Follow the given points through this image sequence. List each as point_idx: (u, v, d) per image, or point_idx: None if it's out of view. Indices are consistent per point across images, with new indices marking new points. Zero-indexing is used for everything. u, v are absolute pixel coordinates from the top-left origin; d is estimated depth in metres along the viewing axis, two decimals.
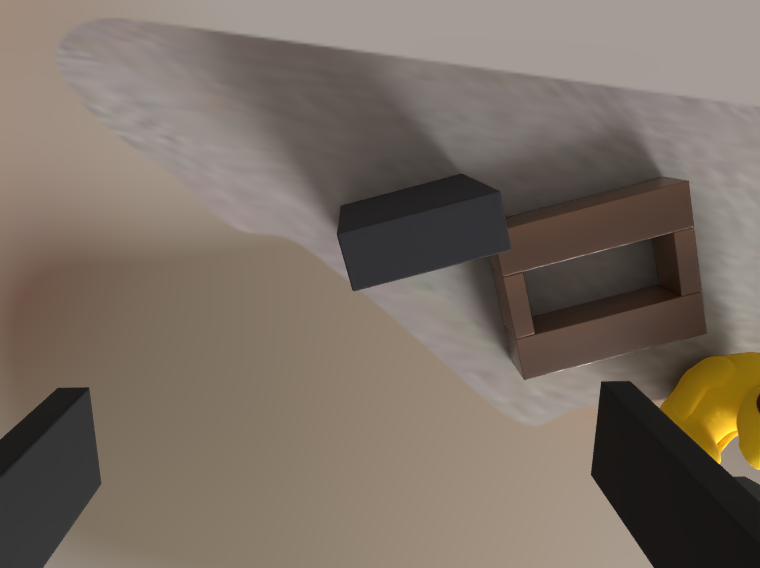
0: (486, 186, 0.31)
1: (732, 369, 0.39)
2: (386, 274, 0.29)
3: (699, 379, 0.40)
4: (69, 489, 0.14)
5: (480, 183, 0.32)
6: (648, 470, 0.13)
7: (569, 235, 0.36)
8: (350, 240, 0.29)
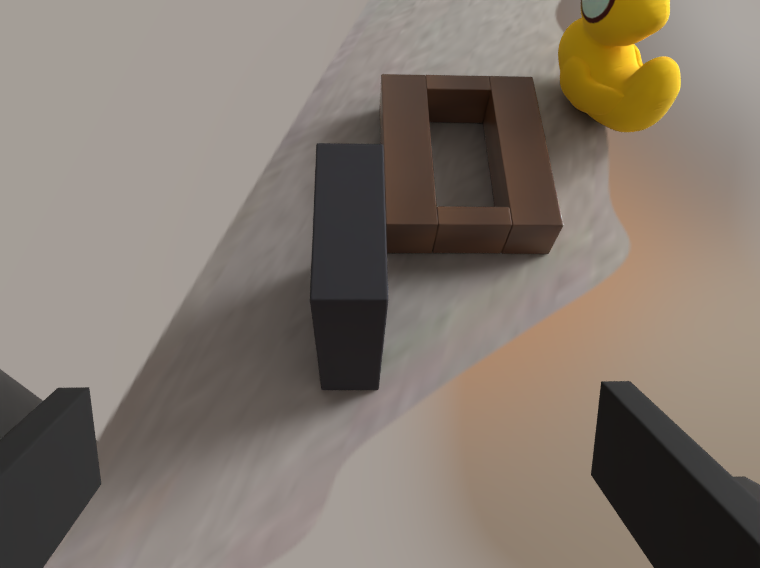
0: None
1: (571, 59, 0.40)
2: (376, 260, 0.24)
3: (580, 87, 0.40)
4: (69, 489, 0.14)
5: None
6: (648, 470, 0.13)
7: (407, 162, 0.36)
8: (323, 287, 0.23)
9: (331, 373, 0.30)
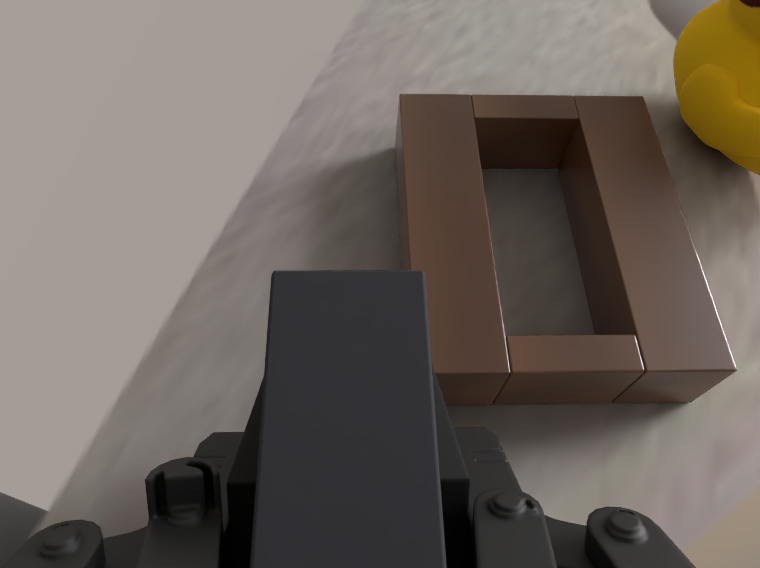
0: None
1: (704, 67, 0.25)
2: None
3: (721, 113, 0.25)
4: None
5: None
6: None
7: (450, 249, 0.20)
8: None
9: None
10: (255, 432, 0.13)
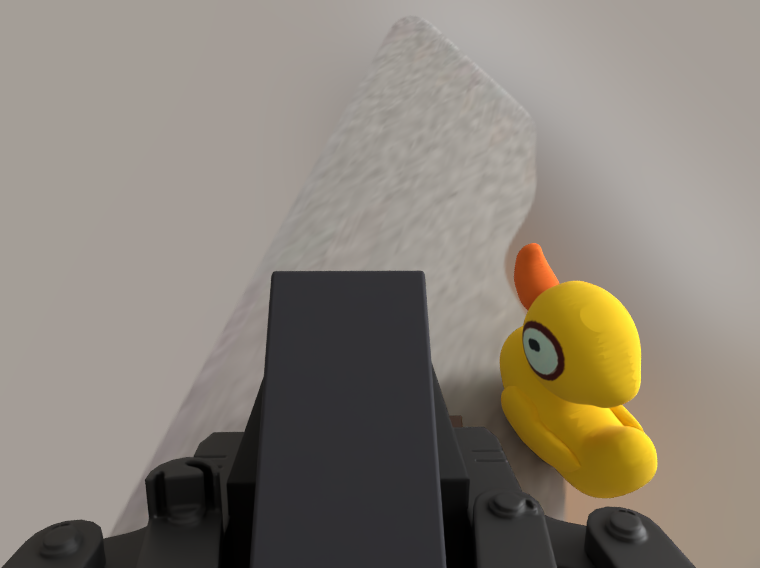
0: None
1: (513, 390, 0.30)
2: None
3: (526, 429, 0.30)
4: None
5: None
6: None
7: None
8: None
9: None
10: (255, 432, 0.13)
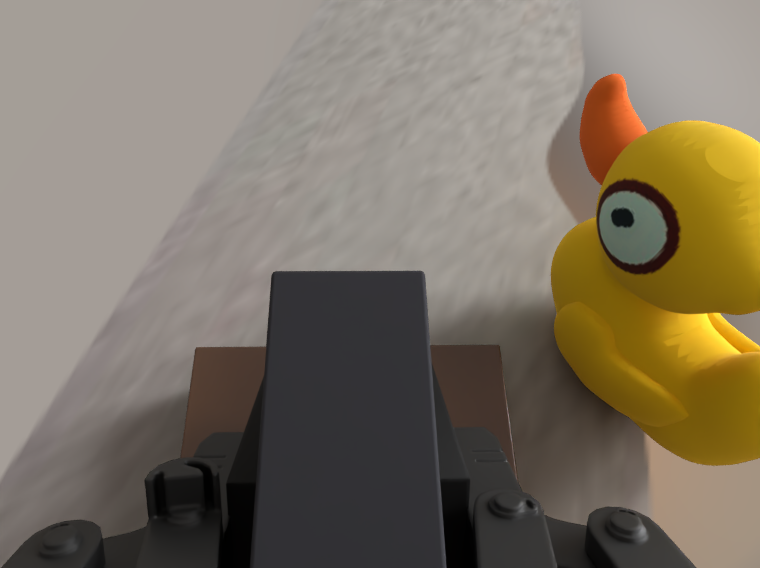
0: None
1: (575, 308, 0.20)
2: None
3: (595, 365, 0.20)
4: None
5: None
6: None
7: None
8: None
9: None
10: (255, 432, 0.13)
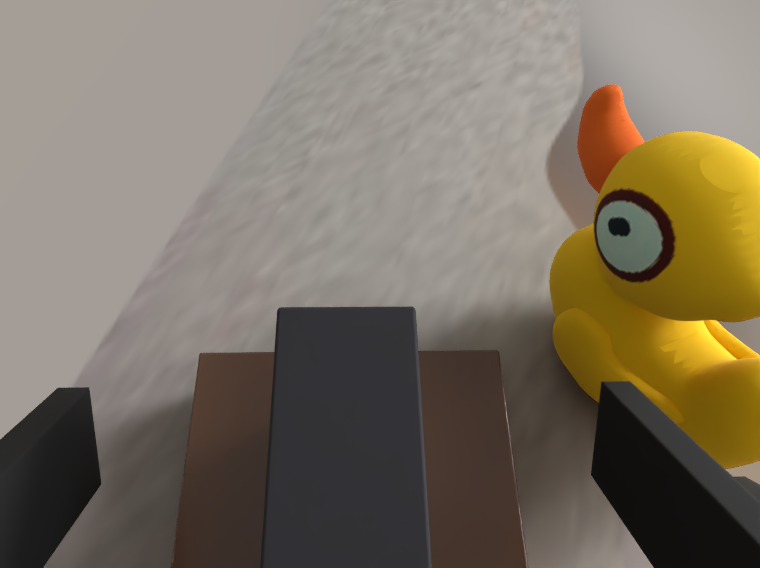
0: None
1: (573, 314, 0.20)
2: None
3: (593, 371, 0.20)
4: (69, 489, 0.14)
5: None
6: (648, 469, 0.13)
7: None
8: None
9: None
10: None
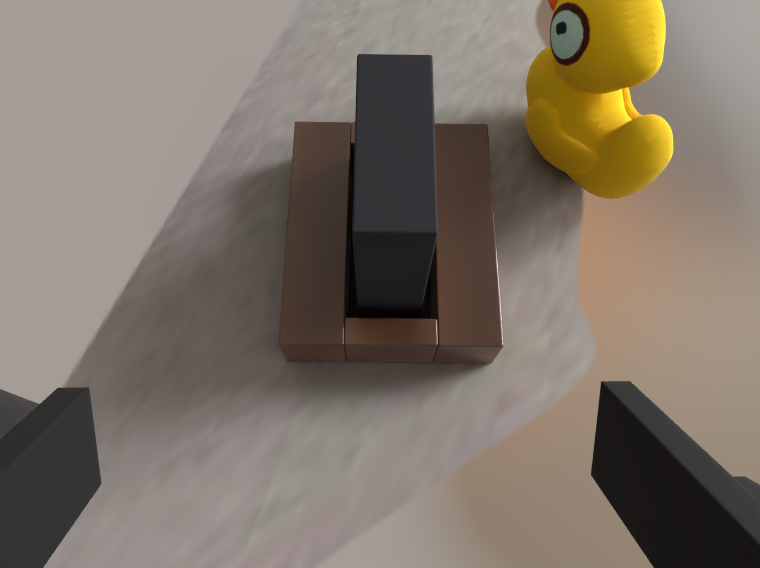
0: None
1: (538, 101, 0.31)
2: (424, 188, 0.22)
3: (548, 138, 0.31)
4: (69, 489, 0.14)
5: None
6: (648, 470, 0.13)
7: (315, 252, 0.28)
8: (366, 218, 0.21)
9: (370, 307, 0.28)
10: None
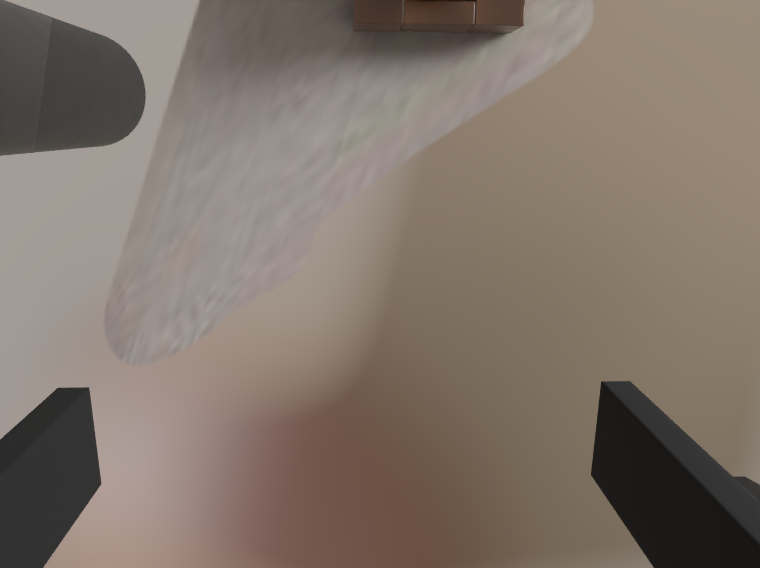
0: None
1: None
2: None
3: None
4: (69, 489, 0.14)
5: None
6: (648, 469, 0.13)
7: None
8: None
9: None
10: None
